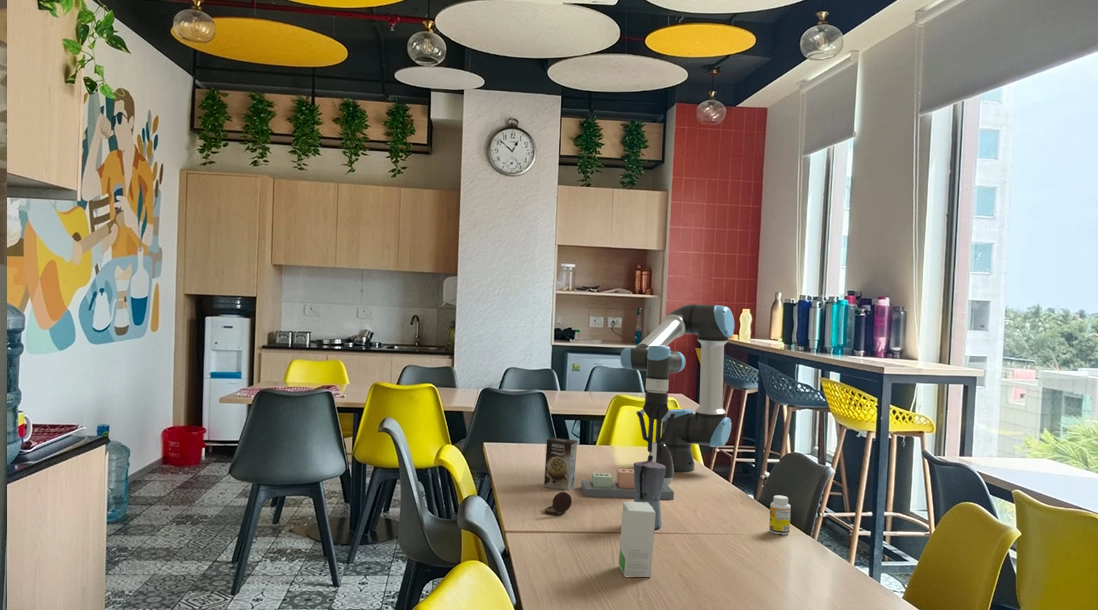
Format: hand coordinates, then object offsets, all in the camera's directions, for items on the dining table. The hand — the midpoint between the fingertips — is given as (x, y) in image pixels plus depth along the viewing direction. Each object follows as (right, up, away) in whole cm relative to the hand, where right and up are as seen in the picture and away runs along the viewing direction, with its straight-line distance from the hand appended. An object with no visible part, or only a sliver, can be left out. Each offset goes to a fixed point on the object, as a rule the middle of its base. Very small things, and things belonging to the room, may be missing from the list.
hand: (652, 462), depth 268 cm
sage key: (-17, -9, -1) cm, 20 cm away
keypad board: (-9, -10, 0) cm, 14 cm away
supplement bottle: (+31, -13, -40) cm, 52 cm away
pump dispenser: (+4, -11, +16) cm, 20 cm away
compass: (-33, -9, -31) cm, 47 cm away
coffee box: (-31, -10, +4) cm, 33 cm away
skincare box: (-15, -10, -81) cm, 83 cm away
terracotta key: (-9, -8, 0) cm, 12 cm away
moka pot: (-7, -11, -40) cm, 42 cm away
